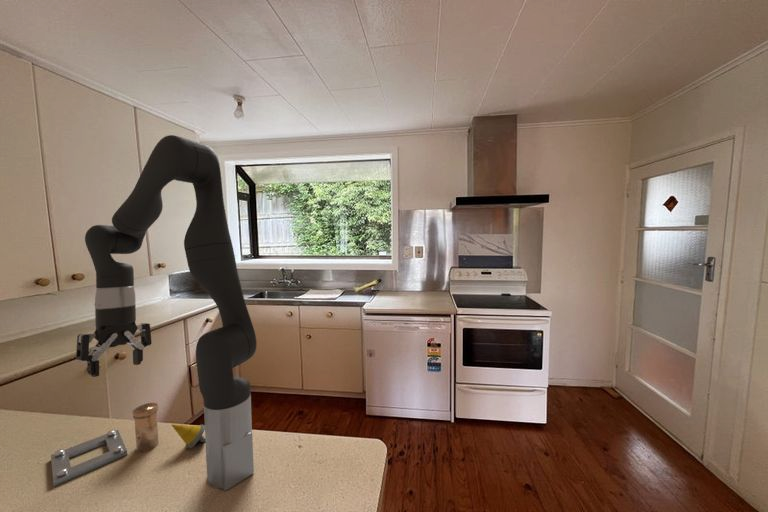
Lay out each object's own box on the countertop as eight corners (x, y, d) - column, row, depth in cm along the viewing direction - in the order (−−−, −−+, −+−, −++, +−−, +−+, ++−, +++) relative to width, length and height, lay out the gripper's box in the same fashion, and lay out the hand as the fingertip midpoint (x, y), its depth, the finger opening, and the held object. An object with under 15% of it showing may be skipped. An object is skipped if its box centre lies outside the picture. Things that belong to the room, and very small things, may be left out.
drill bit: (203, 453, 73) (166, 436, 69) (196, 453, 76) (159, 436, 72) (217, 430, 77) (182, 412, 73) (209, 430, 80) (176, 414, 76)
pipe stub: (162, 445, 75) (160, 407, 75) (137, 456, 71) (134, 416, 71) (157, 436, 78) (155, 400, 78) (132, 446, 75) (130, 408, 74)
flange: (127, 454, 72) (126, 447, 72) (53, 487, 63) (52, 478, 63) (118, 433, 80) (117, 426, 79) (51, 459, 70) (50, 451, 70)
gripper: (86, 310, 66) (87, 383, 66) (156, 301, 79) (157, 362, 79) (69, 309, 69) (70, 379, 69) (140, 301, 82) (141, 359, 82)
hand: (117, 370), depth 74 cm, fingers open, 8 cm apart
